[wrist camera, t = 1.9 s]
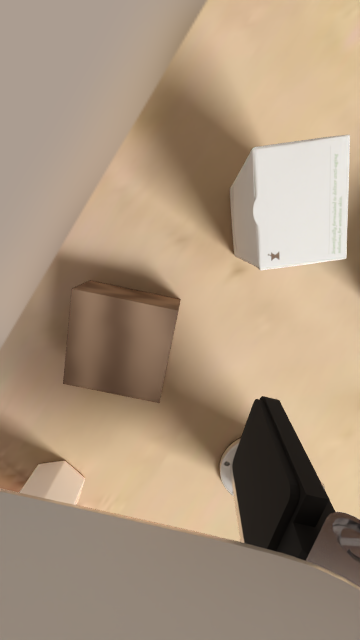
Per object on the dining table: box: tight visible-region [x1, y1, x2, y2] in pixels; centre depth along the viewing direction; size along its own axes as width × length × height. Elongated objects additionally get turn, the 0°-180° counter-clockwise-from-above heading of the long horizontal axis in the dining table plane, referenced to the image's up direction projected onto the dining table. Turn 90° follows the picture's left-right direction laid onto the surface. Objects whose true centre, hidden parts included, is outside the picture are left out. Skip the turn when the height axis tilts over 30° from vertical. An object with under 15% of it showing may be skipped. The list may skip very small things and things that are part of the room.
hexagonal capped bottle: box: [19, 461, 85, 505], centre depth 42 cm, size 9×8×12 cm
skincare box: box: [230, 135, 350, 270], centre depth 27 cm, size 8×7×16 cm
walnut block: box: [63, 281, 181, 403], centre depth 37 cm, size 12×12×6 cm
